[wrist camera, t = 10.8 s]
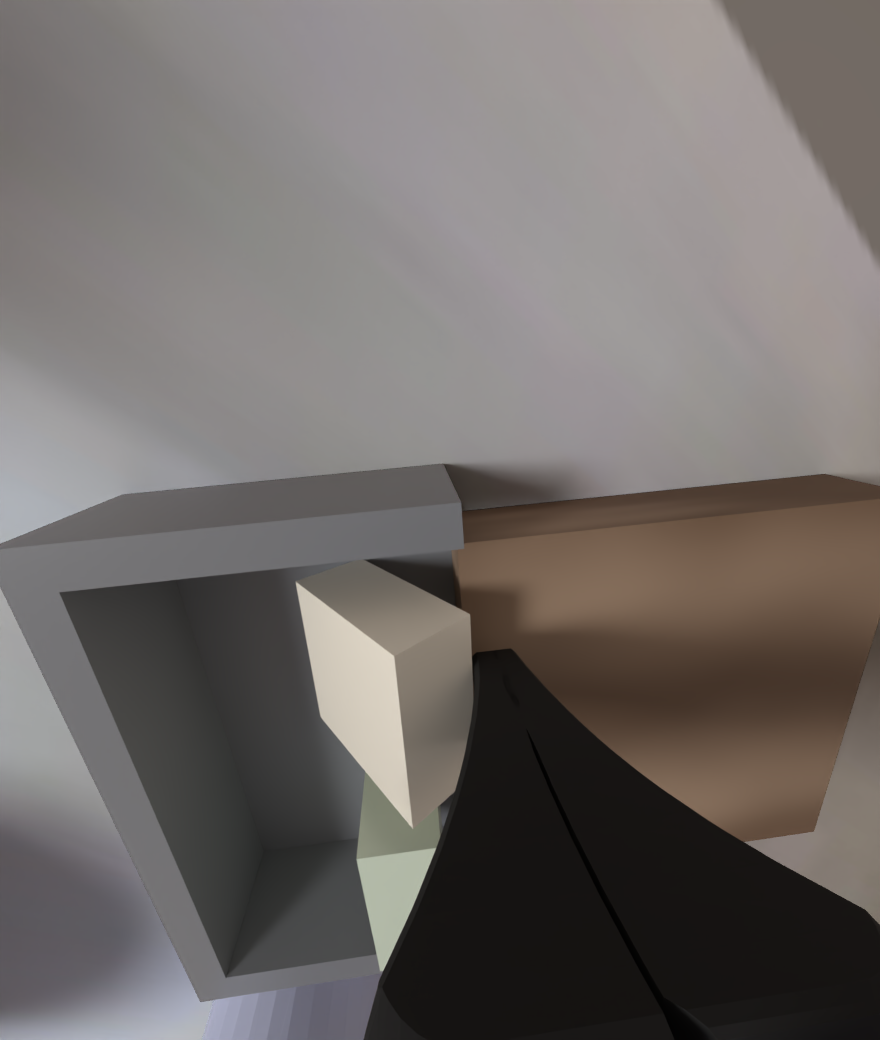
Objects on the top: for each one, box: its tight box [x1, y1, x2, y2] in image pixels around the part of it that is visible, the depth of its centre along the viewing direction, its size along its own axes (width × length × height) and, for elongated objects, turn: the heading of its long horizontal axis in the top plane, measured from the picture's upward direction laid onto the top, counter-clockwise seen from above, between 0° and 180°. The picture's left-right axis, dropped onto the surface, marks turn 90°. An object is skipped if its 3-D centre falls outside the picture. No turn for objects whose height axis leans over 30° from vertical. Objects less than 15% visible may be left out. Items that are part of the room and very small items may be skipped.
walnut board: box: [451, 474, 880, 842], centre depth 14 cm, size 12×12×2 cm
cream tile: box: [295, 560, 473, 829], centre depth 11 cm, size 4×4×2 cm
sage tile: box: [356, 772, 443, 971], centre depth 13 cm, size 4×4×2 cm
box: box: [0, 464, 464, 1002], centre depth 12 cm, size 15×9×4 cm, turn 5°
